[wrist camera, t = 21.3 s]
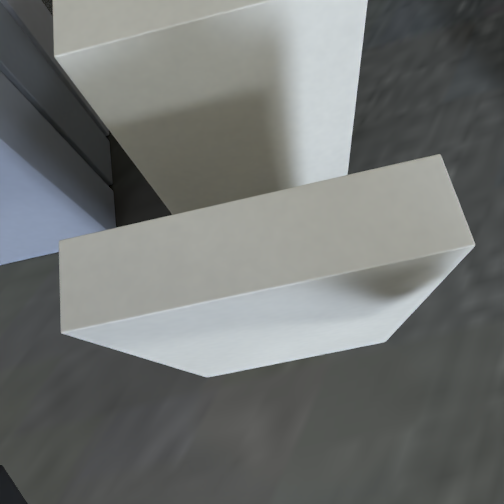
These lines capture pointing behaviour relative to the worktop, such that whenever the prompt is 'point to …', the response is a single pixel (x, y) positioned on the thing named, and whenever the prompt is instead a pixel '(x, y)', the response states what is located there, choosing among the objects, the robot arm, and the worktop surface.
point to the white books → (219, 89)
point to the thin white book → (268, 271)
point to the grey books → (46, 143)
